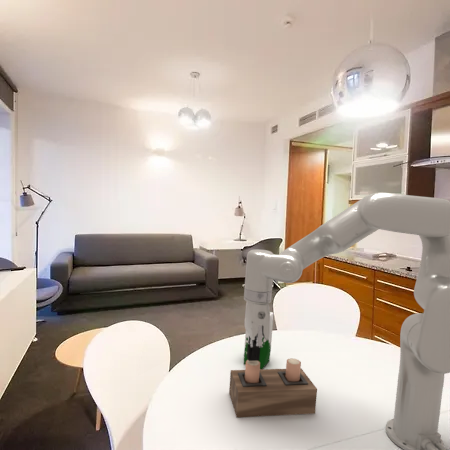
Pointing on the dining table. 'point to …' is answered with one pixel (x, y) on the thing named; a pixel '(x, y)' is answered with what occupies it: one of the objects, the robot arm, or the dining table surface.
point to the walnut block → (271, 394)
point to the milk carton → (265, 347)
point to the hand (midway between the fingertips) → (252, 359)
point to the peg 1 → (252, 371)
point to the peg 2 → (293, 370)
